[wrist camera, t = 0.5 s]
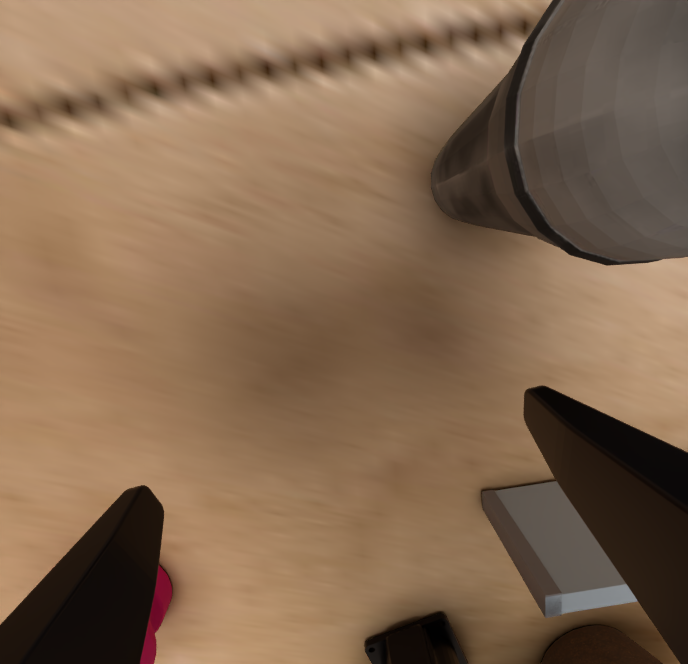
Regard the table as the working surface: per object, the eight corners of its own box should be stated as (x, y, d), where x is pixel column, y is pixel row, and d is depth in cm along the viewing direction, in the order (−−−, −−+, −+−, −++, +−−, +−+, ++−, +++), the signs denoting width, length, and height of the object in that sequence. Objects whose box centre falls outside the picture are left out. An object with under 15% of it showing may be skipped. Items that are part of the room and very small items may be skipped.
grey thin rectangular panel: (735, 451, 26) (897, 538, 18) (732, 469, 26) (890, 561, 19) (481, 491, 25) (545, 595, 18) (482, 509, 26) (545, 617, 18)
